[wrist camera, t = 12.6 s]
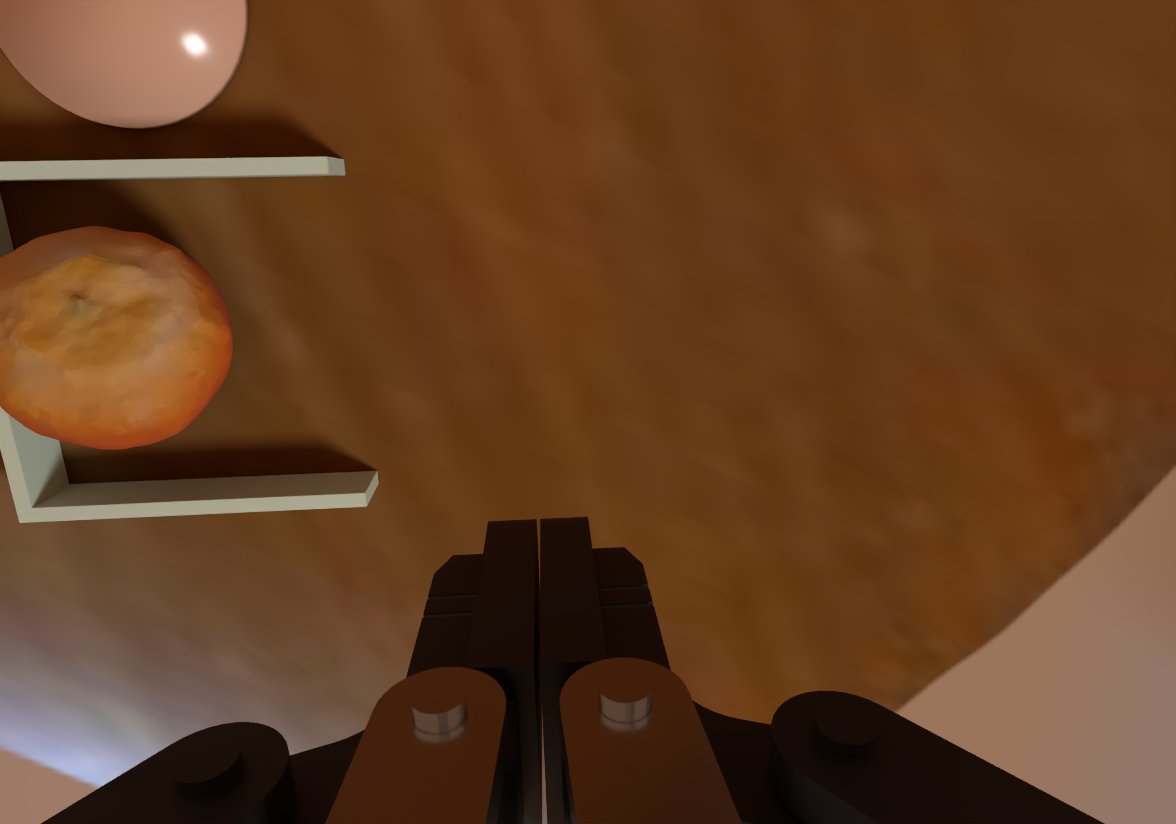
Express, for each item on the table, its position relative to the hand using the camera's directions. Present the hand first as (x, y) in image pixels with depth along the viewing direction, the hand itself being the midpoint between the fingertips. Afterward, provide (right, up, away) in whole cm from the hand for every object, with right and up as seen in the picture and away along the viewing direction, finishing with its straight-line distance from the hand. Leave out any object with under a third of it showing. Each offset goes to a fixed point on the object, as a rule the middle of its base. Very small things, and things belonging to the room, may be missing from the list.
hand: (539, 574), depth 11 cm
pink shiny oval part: (-16, +17, +15) cm, 28 cm away
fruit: (-17, +6, +19) cm, 26 cm away
